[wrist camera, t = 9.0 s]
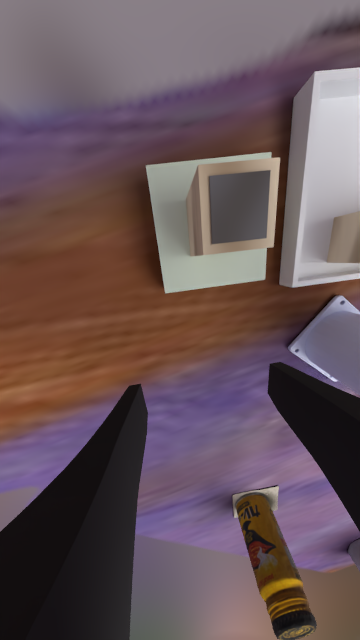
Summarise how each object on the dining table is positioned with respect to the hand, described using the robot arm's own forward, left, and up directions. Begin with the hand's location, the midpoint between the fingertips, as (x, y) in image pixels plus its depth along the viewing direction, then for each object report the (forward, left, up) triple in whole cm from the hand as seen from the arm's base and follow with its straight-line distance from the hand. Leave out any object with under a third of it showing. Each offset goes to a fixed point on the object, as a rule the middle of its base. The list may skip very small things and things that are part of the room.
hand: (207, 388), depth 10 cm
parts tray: (-6, -19, -10) cm, 22 cm away
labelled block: (+4, -9, -7) cm, 12 cm away
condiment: (-31, +22, -10) cm, 39 cm away
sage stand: (+4, -8, -10) cm, 13 cm away
